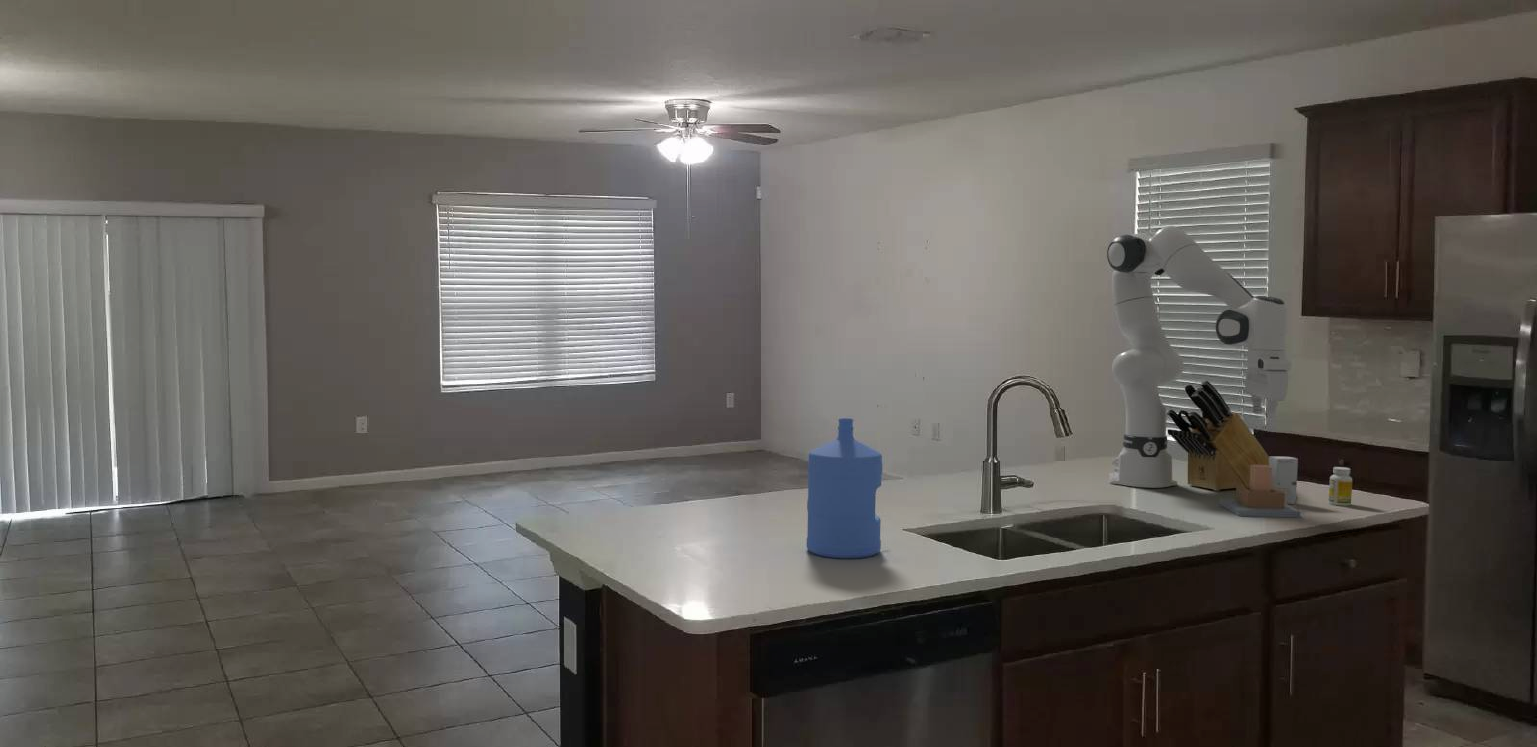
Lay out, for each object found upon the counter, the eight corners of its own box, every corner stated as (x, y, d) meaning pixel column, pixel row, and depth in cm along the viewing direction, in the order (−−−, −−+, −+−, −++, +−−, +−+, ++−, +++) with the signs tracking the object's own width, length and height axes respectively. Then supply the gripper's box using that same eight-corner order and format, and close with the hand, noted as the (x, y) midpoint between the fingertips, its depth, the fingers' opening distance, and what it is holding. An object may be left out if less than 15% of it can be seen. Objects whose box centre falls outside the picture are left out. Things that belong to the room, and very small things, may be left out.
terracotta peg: (1248, 503, 303) (1250, 464, 302) (1264, 503, 303) (1266, 465, 302) (1253, 506, 299) (1255, 467, 298) (1270, 506, 299) (1272, 467, 298)
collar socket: (1219, 504, 309) (1220, 483, 308) (1279, 506, 308) (1279, 485, 307) (1238, 515, 294) (1239, 493, 293) (1300, 517, 293) (1301, 495, 292)
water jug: (838, 563, 239) (840, 425, 237) (791, 548, 251) (793, 417, 249) (896, 553, 248) (899, 420, 246) (848, 539, 260) (850, 413, 258)
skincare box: (1275, 504, 310) (1277, 458, 309) (1265, 501, 315) (1267, 456, 314) (1297, 504, 311) (1299, 458, 310) (1287, 500, 316) (1289, 455, 315)
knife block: (1160, 487, 334) (1164, 378, 332) (1251, 480, 349) (1255, 375, 347) (1190, 494, 324) (1195, 381, 322) (1282, 486, 339) (1287, 378, 337)
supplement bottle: (1324, 503, 312) (1326, 467, 312) (1334, 501, 316) (1336, 465, 315) (1345, 506, 308) (1347, 470, 307) (1354, 504, 312) (1356, 468, 311)
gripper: (1240, 357, 308) (1237, 410, 309) (1267, 363, 288) (1264, 419, 289) (1264, 358, 308) (1262, 411, 309) (1293, 364, 288) (1290, 420, 289)
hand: (1263, 415), depth 299 cm, fingers open, 8 cm apart
